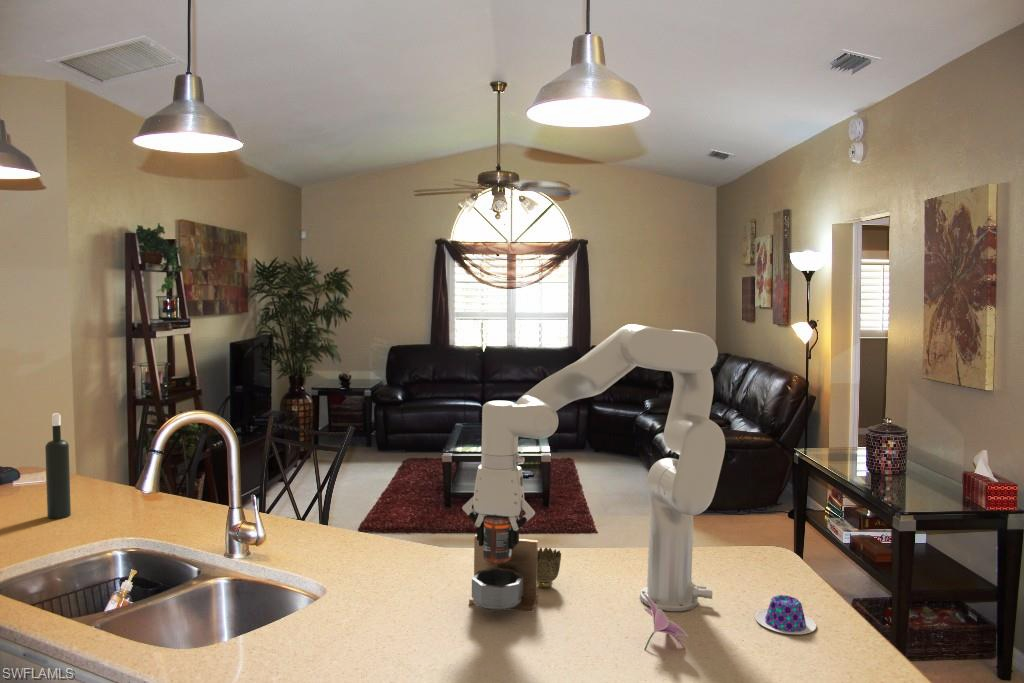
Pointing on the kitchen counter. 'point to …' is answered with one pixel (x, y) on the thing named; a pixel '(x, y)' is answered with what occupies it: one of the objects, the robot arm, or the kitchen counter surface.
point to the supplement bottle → (497, 539)
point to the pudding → (785, 616)
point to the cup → (547, 567)
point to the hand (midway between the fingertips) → (497, 544)
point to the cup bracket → (506, 579)
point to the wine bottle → (57, 473)
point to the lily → (663, 623)
